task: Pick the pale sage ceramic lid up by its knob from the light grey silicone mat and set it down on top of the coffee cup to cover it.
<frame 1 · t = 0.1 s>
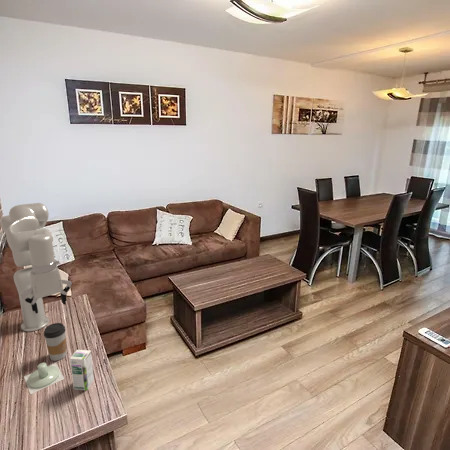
hand: (50, 307, 118), 31 cm above the table, fingers open, 9 cm apart
coffee cup: (58, 357, 136), on the table
lid: (44, 377, 123), resting on mat
syrup box: (84, 385, 121), on the table
mat: (44, 378, 124), on the table
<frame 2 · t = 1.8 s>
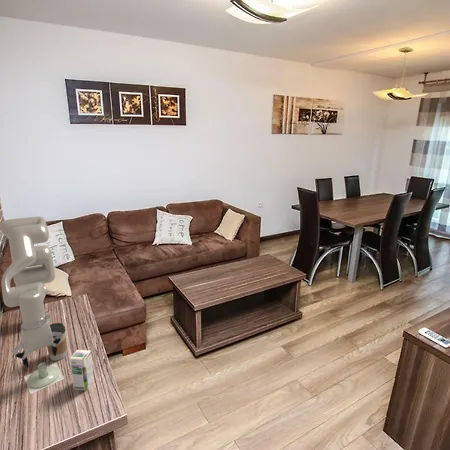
hand: (41, 359, 121), 9 cm above the table, fingers open, 9 cm apart
nothing on the table moved.
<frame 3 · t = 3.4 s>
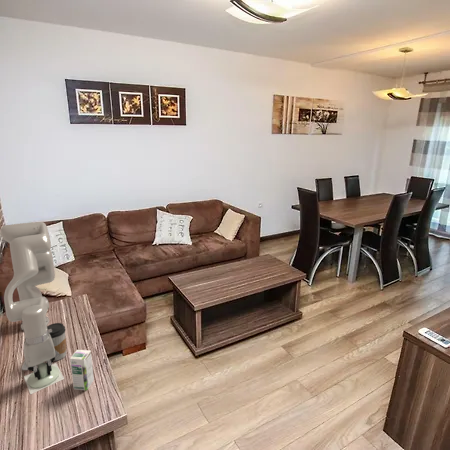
hand: (43, 374, 123), 2 cm above the table, fingers closed on lid, 3 cm apart
lid: (44, 377, 123), resting on mat, touching gripper
everything else where it was.
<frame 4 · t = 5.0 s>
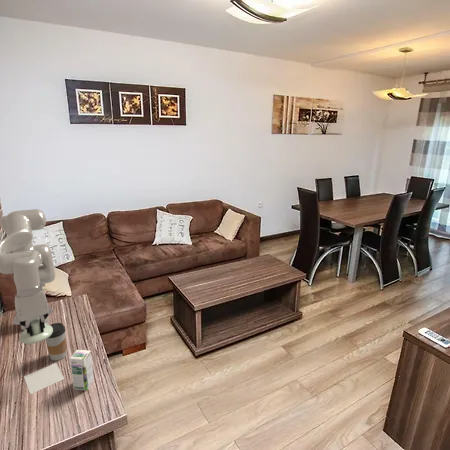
hand: (36, 331, 118), 22 cm above the table, fingers closed on lid, 3 cm apart
lid: (36, 334, 118), point 21 cm above the table, touching gripper
everything else where it was.
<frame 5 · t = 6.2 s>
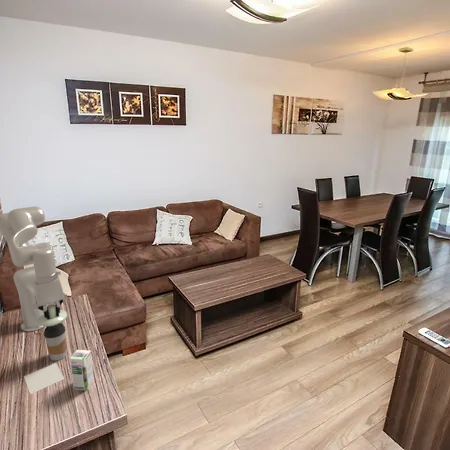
hand: (52, 316, 130), 21 cm above the table, fingers closed on lid, 3 cm apart
lid: (53, 318, 130), point 20 cm above the table, touching gripper
everything else where it was.
when the fingers open (18 cm above the table, at t = 6.9 s): lid drops 1 cm, resting on coffee cup.
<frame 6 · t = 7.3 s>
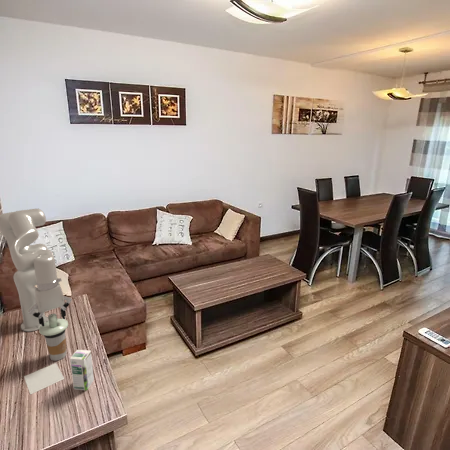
hand: (53, 321, 131), 18 cm above the table, fingers open, 7 cm apart
coffee cup: (58, 357, 136), on the table, touching lid
lid: (54, 327, 132), point 15 cm above the table, touching coffee cup
everything else where it was.
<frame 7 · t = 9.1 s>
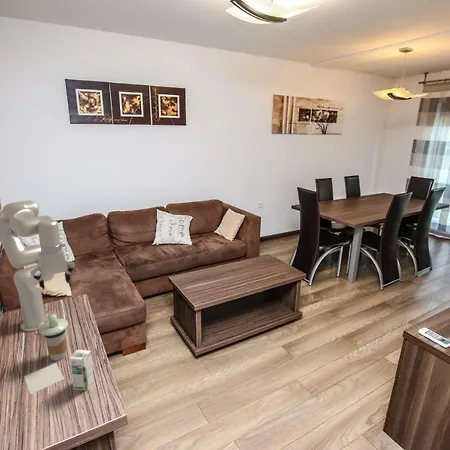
hand: (55, 284, 133), 32 cm above the table, fingers open, 9 cm apart
nothing on the table moved.
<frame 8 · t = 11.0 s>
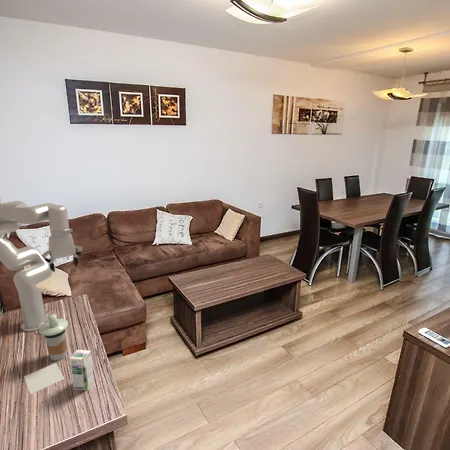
hand: (64, 267, 141), 36 cm above the table, fingers open, 9 cm apart
nothing on the table moved.
at the end: lid 0.0 cm from the coffee cup (horizontally); lid point 15.0 cm above the table; lid tilted 0° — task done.
